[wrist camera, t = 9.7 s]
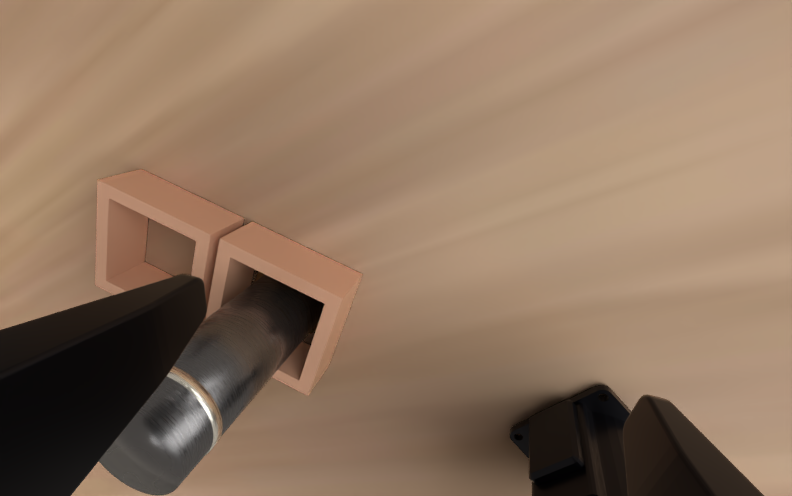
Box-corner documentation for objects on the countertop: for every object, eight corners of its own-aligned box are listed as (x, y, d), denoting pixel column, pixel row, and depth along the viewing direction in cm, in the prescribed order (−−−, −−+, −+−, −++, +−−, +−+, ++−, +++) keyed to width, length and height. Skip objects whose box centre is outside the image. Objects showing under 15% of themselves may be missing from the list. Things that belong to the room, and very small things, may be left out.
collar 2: (362, 274, 24) (342, 298, 22) (329, 365, 28) (307, 395, 25) (252, 221, 25) (219, 238, 23) (232, 315, 29) (201, 340, 26)
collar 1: (244, 218, 25) (210, 234, 23) (225, 312, 29) (193, 337, 26) (141, 168, 26) (97, 179, 24) (134, 266, 29) (95, 285, 27)
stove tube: (333, 285, 25) (189, 440, 14) (314, 341, 27) (175, 513, 16) (268, 253, 26) (81, 380, 15) (253, 310, 28) (80, 458, 17)
